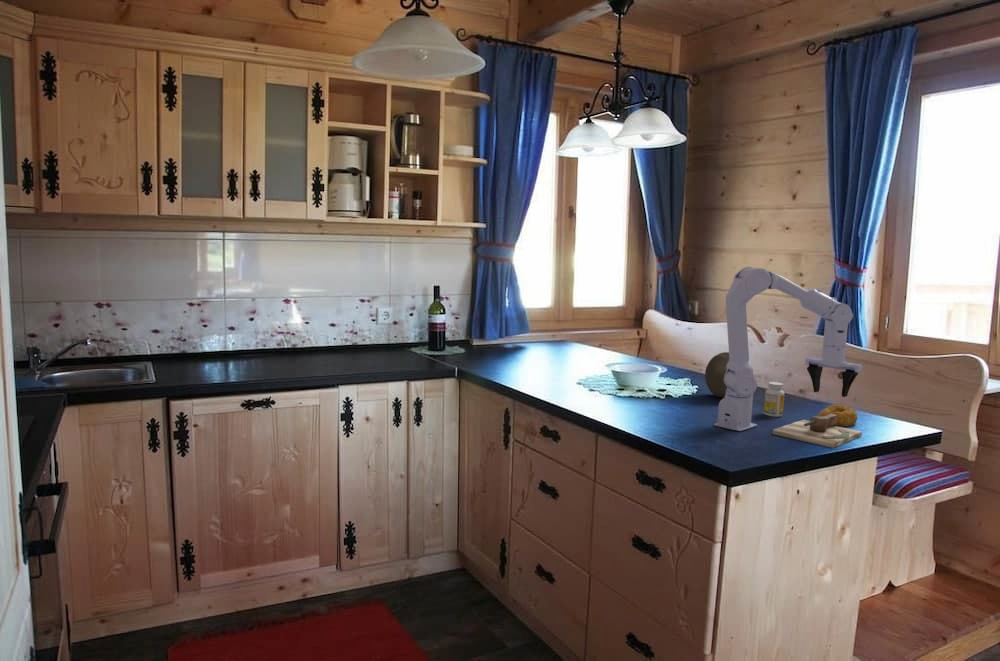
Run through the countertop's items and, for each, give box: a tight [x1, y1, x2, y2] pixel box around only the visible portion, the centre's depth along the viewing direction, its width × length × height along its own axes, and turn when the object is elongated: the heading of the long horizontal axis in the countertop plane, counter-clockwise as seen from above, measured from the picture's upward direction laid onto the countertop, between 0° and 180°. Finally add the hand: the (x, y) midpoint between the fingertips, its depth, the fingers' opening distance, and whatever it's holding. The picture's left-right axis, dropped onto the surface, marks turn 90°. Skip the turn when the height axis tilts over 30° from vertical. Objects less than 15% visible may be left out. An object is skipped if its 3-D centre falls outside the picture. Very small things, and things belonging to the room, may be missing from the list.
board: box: [772, 419, 863, 449], centre depth 192 cm, size 18×16×1 cm
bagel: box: [816, 404, 858, 427], centre depth 207 cm, size 10×11×5 cm
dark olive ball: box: [704, 351, 729, 399], centre depth 234 cm, size 14×14×15 cm
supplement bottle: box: [763, 381, 785, 418], centre depth 213 cm, size 5×5×10 cm
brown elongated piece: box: [804, 414, 838, 432], centre depth 193 cm, size 18×4×3 cm, turn 132°
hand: (830, 393), depth 199 cm, fingers open, 7 cm apart
